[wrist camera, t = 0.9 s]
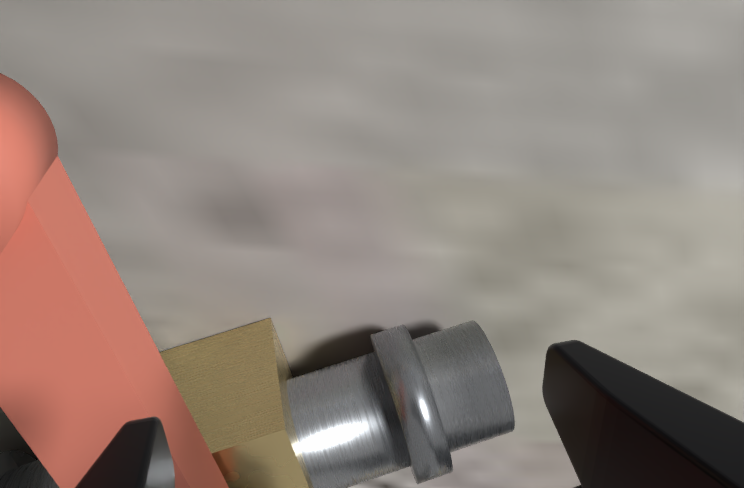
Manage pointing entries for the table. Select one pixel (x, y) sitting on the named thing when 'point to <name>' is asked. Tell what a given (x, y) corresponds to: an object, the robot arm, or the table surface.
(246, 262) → the table surface
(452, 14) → the table surface
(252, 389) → the pipe valve
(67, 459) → the lever
